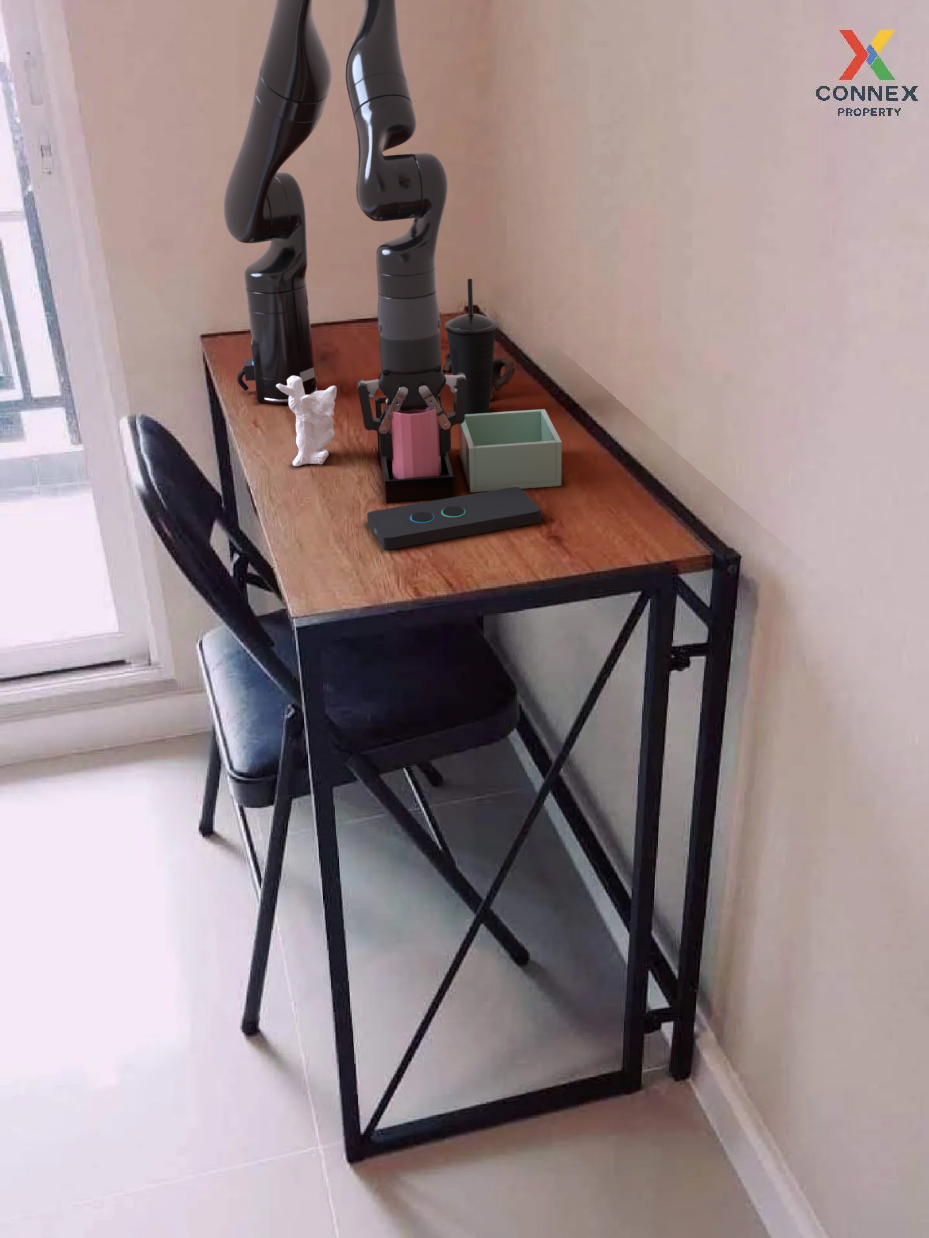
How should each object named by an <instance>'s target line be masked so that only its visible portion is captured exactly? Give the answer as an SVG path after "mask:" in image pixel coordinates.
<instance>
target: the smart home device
mask: <svg viewBox="0 0 929 1238" xmlns="http://www.w3.org/2000/svg"><path fill="white" fill-rule="evenodd" d="M366 517H367V526H368V528H369V529H370V530H371V532H372V533H373V535H374V536H375V538H376V540H377V541H378V542H379V544H380V545H381V547H382V548H383V550H397V549H400V548H401V549H402V548H408V547H413V546H418V545H423V544H429V543H433V542H439V541H446V540H450V539H452V540H453V539H457V538H462V537H467V536H468V537H469V536H473V535H478V534H484V533H489V532H495V531H501V530H507V529H511V528H518V527H523V526H528V525H535V524H538V523H540V522H541V521H542V509H541V508H540V506H539V505H538V504H536V502H535V501H534V500H533V499H532V498H531V497H529V495H528V494H526V492H525V491H523V489H520V488H519V487H512V488H505V489H499V490H494V491H484V492H475V493H471V494H465V495H460V496H455V497H452V498H446V499H434V500H428V501H424V502H418V503H412V504H407V505H406V504H405V505H400V506H394V507H388V508H383V509H377V510H373V511H369V512H367V513H366Z"/></svg>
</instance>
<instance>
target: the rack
mask: <svg viewBox="0 0 929 1238" xmlns="http://www.w3.org/2000/svg"><path fill="white" fill-rule="evenodd" d="M437 398H438V400H439V402H440V404H441V405H442V399H441V398H442V396H441V394H439V395H438V396H437ZM387 399H388V398H387V397H386V396H385V397H383V396H382V397H381V396H379V397H377V398H374V408H375V409H374V410H375V418H379V419H380V417H381V415H382V413H383V411H382V404H386V400H387ZM376 437H377V450H378V455H379V462H380V468H381V476H382V482H383V483H382V484H383V491H384V497H385V504H386V503H387V504H390V503H404V502H416V501H418V502H419V501H433V500H441V499H447V498H452V497H456V492H455V491H456V489H455V488H456V487H455V474H454V470H453V467H452V464H451V460H450V456H449V452H446V456H445V457H441V474H442V476H428V477H415V478H401V479H393V473H392V460H391V461H387V458H386V456H385V457H383V456H382V454H381V450H380V437H379V433H378V432H377V431H376Z"/></svg>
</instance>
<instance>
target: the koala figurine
mask: <svg viewBox="0 0 929 1238" xmlns="http://www.w3.org/2000/svg"><path fill="white" fill-rule="evenodd" d="M287 384H288V385H287V386H285V385H282V384H280V383H279V384H278V385H276V387H277V388H278V389H279V390H280V391H282V392H283V393H285V394H287V395H290V396H289V404H288V408H289V409H290V410H291V412H292V413H293V414H295V432H296V437H295V444H296V446H297V448H298V453H297V455H296V456H295V458H294V459H293V460H292V464H291V465H292V466H293V467H300V466H303V465H309V464H310V465H323V464H324V463H325V462H326V460H327V458H328V457H329V451H328V449H327V448H323V447H326V446H327V445H329V444H330V443H331V442H332V441H333V440H334V439H335V434H336V432H335V427H334V418H333V417H334V416H335V410H334V409H335V405H336V401H335V400H336V399H337V390H338V389H337V386H336V385H330V386H329V387H328V388H326V389H325V390H317V391H316V392H314V393H312V394H311V395H305V392H304V388H303V383H302V379H301V378H300V377H298V376H291V377H289V378H288V379H287Z"/></svg>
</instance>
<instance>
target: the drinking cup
mask: <svg viewBox="0 0 929 1238" xmlns="http://www.w3.org/2000/svg"><path fill="white" fill-rule="evenodd" d="M473 294H474V293H473V278H468V279H467V310H468V311H467V313H465V314H461V315H458V316H456V317H454V318H451V319H450V320H447V321H445V323H444V329H445V331H446V334H447V335H446V336H447V343H448V352H449V353H450V360H451V368H452V373H451V375H457V374H458V373H460V372H461V373H464V375H465V377H466V380H467V395H466V407H465V414H480V413H490V407H491V399H490V394H491V381H492V367H493V358H494V353H495V339H496V330H497V329H498V322H497V321H496V320H495V319H493V318H490V317H488V316H485V315H483V314H479V313H474V297H473Z"/></svg>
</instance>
